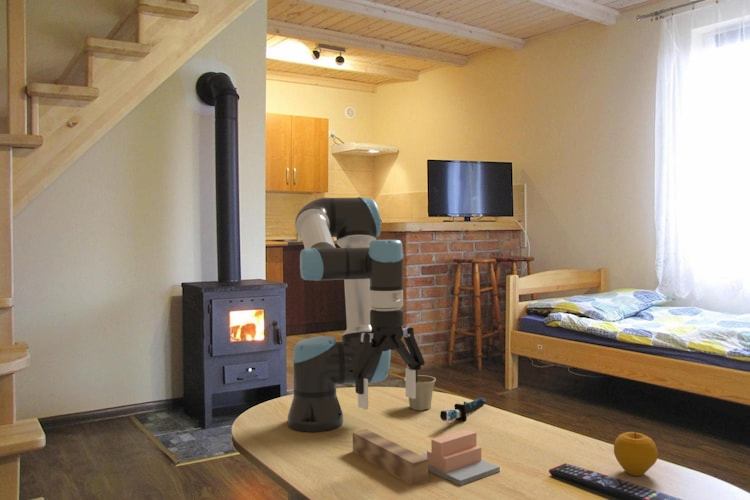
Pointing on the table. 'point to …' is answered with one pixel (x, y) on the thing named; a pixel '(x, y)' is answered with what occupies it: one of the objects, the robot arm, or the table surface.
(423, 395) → the flower pot
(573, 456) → the table surface
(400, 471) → the batten
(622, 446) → the apple
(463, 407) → the knife
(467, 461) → the pink stepped block
